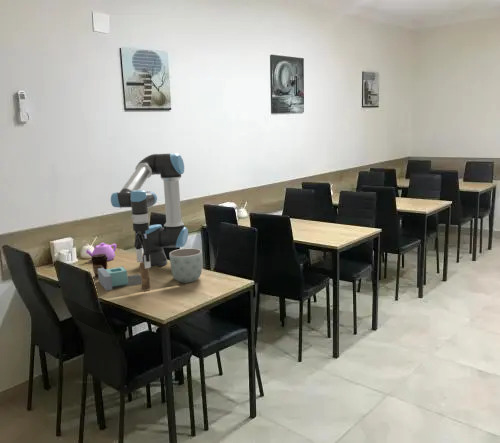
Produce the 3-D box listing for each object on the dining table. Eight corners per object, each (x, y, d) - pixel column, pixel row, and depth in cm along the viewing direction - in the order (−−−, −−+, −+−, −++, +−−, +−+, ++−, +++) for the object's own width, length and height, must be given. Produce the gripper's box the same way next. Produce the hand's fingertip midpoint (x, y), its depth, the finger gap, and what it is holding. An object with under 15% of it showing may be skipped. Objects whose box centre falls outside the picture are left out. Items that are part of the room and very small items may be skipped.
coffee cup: (104, 281, 258) (101, 257, 256) (90, 280, 260) (87, 257, 258) (112, 276, 267) (109, 253, 264) (98, 275, 269) (95, 253, 266)
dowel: (148, 288, 244) (146, 261, 241) (151, 290, 240) (149, 263, 237) (141, 289, 242) (138, 262, 239) (143, 292, 238) (141, 264, 236)
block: (123, 279, 256) (122, 266, 254) (128, 283, 248) (126, 270, 247) (106, 282, 252) (105, 269, 250) (110, 287, 244) (109, 273, 242)
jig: (138, 276, 264) (137, 262, 262) (147, 285, 248) (146, 269, 247) (98, 283, 254) (97, 268, 253) (106, 293, 239) (104, 277, 237)
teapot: (82, 261, 301) (80, 244, 299) (112, 254, 314) (111, 238, 312) (91, 265, 291) (89, 248, 289) (122, 258, 304) (120, 242, 301)
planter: (209, 281, 251) (207, 252, 248) (178, 287, 243) (176, 258, 240) (195, 273, 265) (193, 246, 263) (166, 279, 257) (164, 251, 254)
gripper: (126, 219, 243) (129, 260, 247) (140, 227, 222) (143, 271, 225) (141, 218, 247) (144, 258, 251) (156, 225, 225) (159, 269, 229)
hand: (143, 264), depth 238 cm, fingers open, 13 cm apart
